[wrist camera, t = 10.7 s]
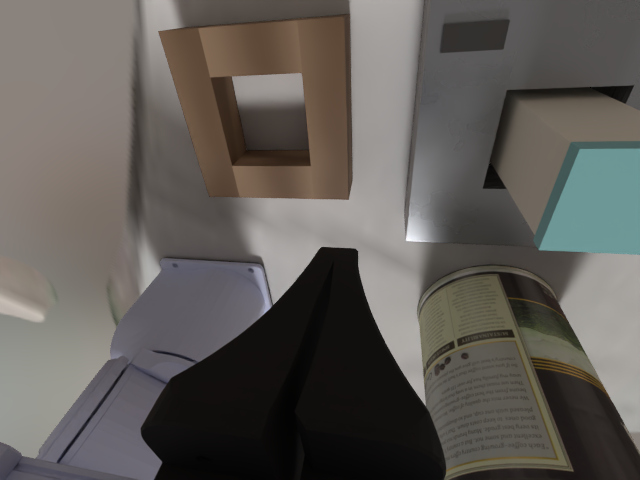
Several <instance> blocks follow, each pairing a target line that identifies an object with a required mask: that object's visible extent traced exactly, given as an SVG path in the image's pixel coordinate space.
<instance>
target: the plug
mask: <svg viewBox="0 0 640 480" xmlns="http://www.w3.org/2000/svg"><path fill="white" fill-rule="evenodd" d="M490 162H491V164H492V165H493V167H494V169H495V170H496V172H497V174H498V175H499V177H500V179H501V180H502V182H503V183H504V185H505V187H506V188H507V190H508V192H509V193H510V195H511V197H512V198H513V200H514V202H515V203H516V205H517V207H518V208H519V210H520V212H521V213H522V215H523V217H524V218H525V220H526V222H527V223H528V225H529V227H530V228H531V230H532V232H533V233H534V235H535V236H534V239H533V241H534V243H535V245H536V247H537V248H538V250H546V251H569V252H591V253H614V254H637V255H640V110H637V109H635V108H633V107H631V106H629V105H626V104H624V103H622V102H620V101H618V100H615V99H613V98H611V97H609V96H607V95H605V94H602V93H600V92H598V91H596V90H594V89H591V88H589V87H575V88H547V89H520V90H507V92H506V96H505V100H504V104H503V108H502V112H501V116H500V120H499V124H498V128H497V132H496V137H495V141H494V145H493V149H492V153H491V157H490Z"/></svg>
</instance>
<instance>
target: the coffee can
mask: <svg viewBox="0 0 640 480" xmlns="http://www.w3.org/2000/svg"><path fill="white" fill-rule="evenodd" d="M417 315H418V321H419V325H420V336H421V350H422V362H423V375H424V387H425V400H426V408H427V409H428V411H429V412H430V415H431V418H432V420H433V423H434V425H435V428H436V431H437V433H438V436H439V439H440V442H441V445H442V448H443V452H444V457H445V461H446V476H445V478H444V480H640V452H639V450H638V448H637V446H636V444H635V443H634V441H633V439H632V437H631V435H630V433H629V431H628V429H627V428H626V426H625V424H624V422H623V420H622V419H621V417H620V415H619V413H618V411H617V410H616V407H615V406H614V404H613V402H612V401H611V399H610V397H609V395H608V393H607V392H606V390H605V388H604V386H603V384H602V382H601V381H600V379H599V377H598V375H597V373H596V371H595V369H594V368H593V366H592V364H591V362H590V360H589V359H588V357H587V355H586V353H585V351H584V350H583V348H582V346H581V344H580V342H579V340H578V338H577V336H576V335H575V333H574V331H573V329H572V327H571V326H570V324H569V322H568V320H567V318H566V316H565V315H564V313H563V311H562V309H561V307H560V305H559V304H558V302H557V298H556V296H555V293H554V292H553V290H552V289H551V287H550V286H549V285H548V284H547V283H546V282H545V281H544V280H542V279H541V278H539V277H538V276H536V275H534V274H532V273H530V272H528V271H525V270H522V269H518V268H514V267H509V266H499V265H485V266H476V267H471V268H466V269H463V270H459V271H457V272H454V273H451V274H449V275H447V276H445V277H443V278H441V279H439V280H438V281H437V282H435V283H434V284H433V285H432V286H431V287H430V288H429V289H428V290H427V291H426V292H425V293H424V295H423V296H422V298H421V300H420V302H419V306H418V311H417Z"/></svg>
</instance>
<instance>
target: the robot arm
mask: <svg viewBox="0 0 640 480" xmlns="http://www.w3.org/2000/svg"><path fill="white" fill-rule="evenodd" d="M160 265H161V268H162V271H161V272H160V273H159V274H158V276H157V277H156V278H155V279H154V280H153V282H152V283H151V284H150V285H149V286H148V288H147V289H146V290H145V291H144V292H143V294H142V295H141V296H140V297H139V298H138V300H137V301H136V302H135V303H134V304H133V305H132V307H131V308H130V309H129V310H128V311H127V313H126V314H125V315H124V316H123V318H122V319H121V321H120V322H119V324H118V326H117V328H116V330H115V333H114V336H113V339H112V343H111V350H110V353H111V360H108V361H107V362H106V363H105V365H104V366H103V367H102V368H101V370H100V371H99V372H98V373H97V375H96V376H95V377H94V378H93V380H92V381H91V382H90V384H89V385H88V386H87V387H86V389H85V390H84V391H83V393H82V394H81V395H80V396H79V398H78V399H77V400H76V402H75V403H74V404H73V405H72V407H71V408H70V409H69V411H68V412H67V413H66V415H65V416H64V417H63V418H62V420H61V421H60V422H59V424H58V425H57V426H56V428H55V429H54V430H53V432H52V433H51V434H50V436H49V437H48V438H47V440H46V441H45V443H44V444H43V445H42V447H41V448H40V449H39V455H38V456H37V457H36V459H34V458H29V457H24V456H22V455H21V453H20V452H19V451H17V450H16V449H14V448H13V447H11V446H9V445H7V444H4V443H1V442H0V480H444V478H445V476H446V461H445V457H444V452H443V448H442V445H441V442H440V439H439V436H438V433H437V431H436V428H435V425H434V423H433V420H432V418H431V415H430V412H429V411H428V409H427V408H426V406H425V405H424V404H423V402H422V401H421V399H420V398H419V397H418V395H417V394H416V392H415V391H414V389H413V388H412V386H411V385H410V383H409V382H408V380H407V379H406V377H405V376H404V374H403V373H402V371H401V369H400V368H399V366H398V364H397V363H396V361H395V359H394V357H393V356H392V354H391V352H390V350H389V349H388V347H387V345H386V343H385V341H384V339H383V337H382V335H381V333H380V331H379V329H378V327H377V324H376V322H375V320H374V318H373V315H372V313H371V310H370V307H369V305H368V302H367V299H366V296H365V293H364V289H363V286H362V282H361V278H360V274H359V268H358V251H357V250H356V249H351V248H331V247H321V248H320V249H319V250H318V252H317V253H316V255H315V256H314V258H313V259H312V261H311V262H310V263H309V265H308V266H307V267H306V269H305V270H304V271H303V272H302V274H301V275H300V276H299V277H298V279H297V280H296V281H295V282H294V283H293V285H292V286H291V287H290V288H289V289H288V290H287V291H286V292H285V293H284V295H283V296H282V297H281V298H280V299H279V300H278V301H277V302H276V303H275V304H274V305H273V306H272V303H271V298H270V294H269V290H268V285H267V281H266V277H265V272H264V268H263V267H262V266H261V265H260V264H254V263H238V262H221V261H205V260H188V259H172V258H163V259H162V260H161V261H160ZM250 268H251V269H250ZM252 269H253V270H252Z"/></svg>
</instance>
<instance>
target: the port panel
mask: <svg viewBox="0 0 640 480" xmlns="http://www.w3.org/2000/svg"><path fill="white" fill-rule="evenodd" d="M575 87H592V88H591V89H594V90H596V91H598V92H600V93H602V94H605V95H607V96H609V97H611V98H613V99H615V100H618V101H620V102H622V103H624V104H626V105H629V106H631V107H633V108H635V109H637V110H640V0H425V2H424V12H423V23H422V34H421V44H420V55H419V65H418V76H417V86H416V97H415V108H414V118H413V129H412V139H411V150H410V161H409V171H408V182H407V192H406V203H405V214H404V217H405V233H406V241H417V242H440V243H463V244H486V245H509V246H532V247H536V245H535V243H534V241H533V239H534V236H535V235H534V233H533V232H532V230H531V228H530V227H529V225H528V223H527V222H526V220H525V218H524V217H523V215H522V213H521V212H520V210H519V208H518V207H517V205H516V203H515V202H514V200H513V198H512V197H511V195H510V193H509V192H508V190H507V188H506V187H505V185H504V183H503V182H502V180H501V179H500V177H499V175H498V174H497V172H496V170H495V169H494V167H493V165H489V161H490V157H491V153H492V149H493V145H494V141H495V137H496V132H497V128H498V124H499V120H500V116H501V112H502V108H503V104H504V100H505V96H506V92H507V90H520V89H547V88H575Z"/></svg>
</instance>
